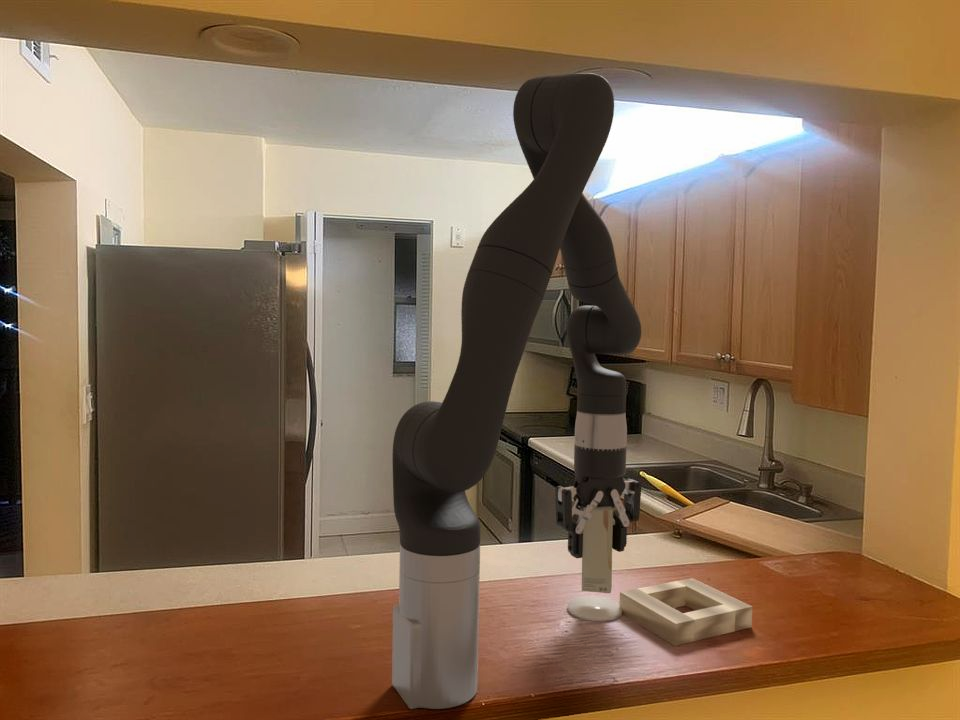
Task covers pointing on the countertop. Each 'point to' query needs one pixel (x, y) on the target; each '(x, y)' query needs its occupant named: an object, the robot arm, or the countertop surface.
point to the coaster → (594, 608)
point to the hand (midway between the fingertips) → (597, 553)
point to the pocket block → (707, 620)
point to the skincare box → (597, 551)
